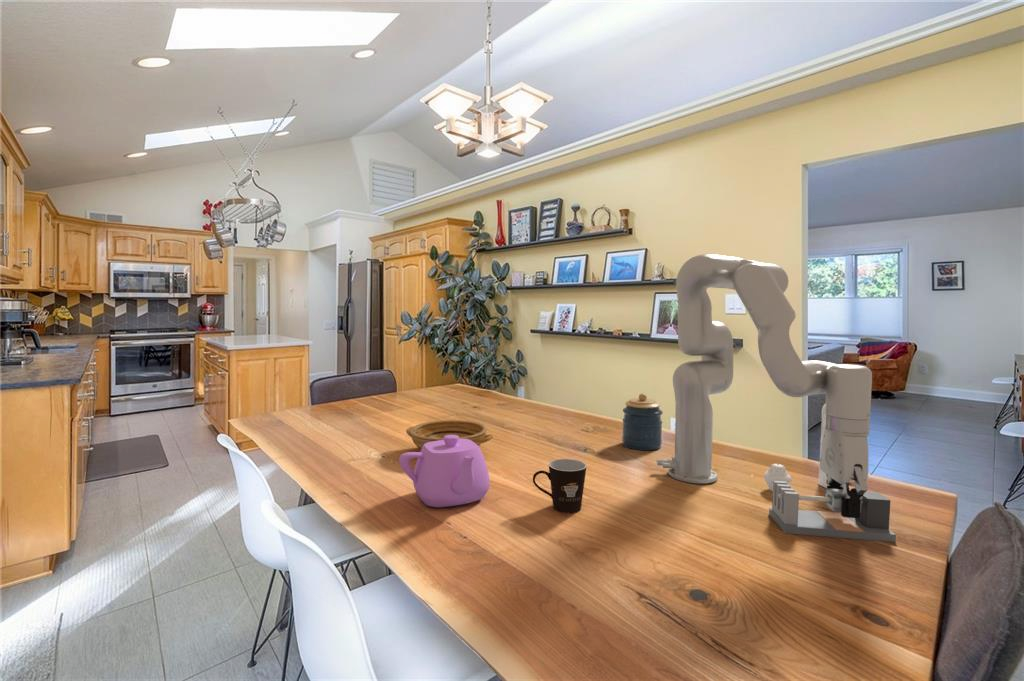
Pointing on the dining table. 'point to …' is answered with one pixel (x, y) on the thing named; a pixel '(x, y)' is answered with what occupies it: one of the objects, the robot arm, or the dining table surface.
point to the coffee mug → (565, 484)
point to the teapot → (448, 472)
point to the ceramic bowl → (448, 431)
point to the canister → (642, 424)
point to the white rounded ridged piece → (776, 475)
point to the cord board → (831, 516)
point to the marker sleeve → (835, 499)
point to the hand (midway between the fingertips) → (842, 509)
